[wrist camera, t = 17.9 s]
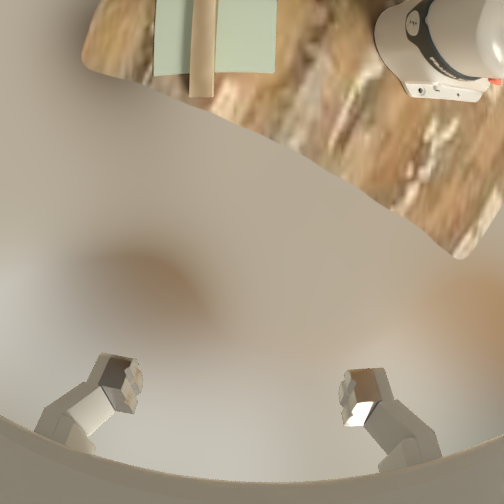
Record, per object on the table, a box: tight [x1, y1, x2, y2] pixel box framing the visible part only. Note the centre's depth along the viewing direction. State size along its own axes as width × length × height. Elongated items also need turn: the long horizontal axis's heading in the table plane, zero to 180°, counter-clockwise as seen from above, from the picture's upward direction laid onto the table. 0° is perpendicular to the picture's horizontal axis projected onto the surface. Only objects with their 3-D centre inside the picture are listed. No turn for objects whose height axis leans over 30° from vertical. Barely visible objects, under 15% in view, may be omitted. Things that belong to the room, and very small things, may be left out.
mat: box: [154, 0, 277, 76], centre depth 33 cm, size 18×20×1 cm
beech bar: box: [189, 0, 219, 97], centre depth 34 cm, size 3×20×3 cm, turn 177°
